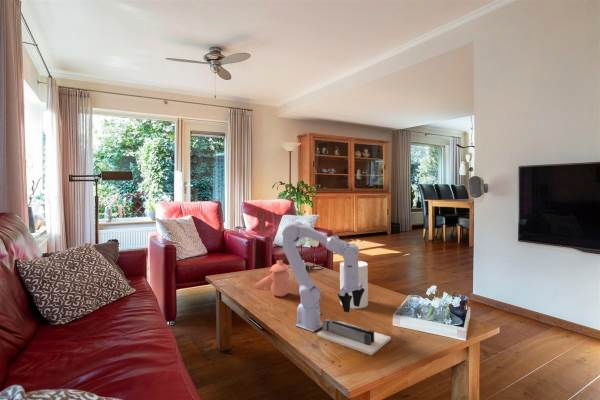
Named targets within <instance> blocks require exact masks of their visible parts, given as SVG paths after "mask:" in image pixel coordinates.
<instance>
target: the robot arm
mask: <svg viewBox="0 0 600 400" xmlns="http://www.w3.org/2000/svg"><path fill="white" fill-rule="evenodd" d="M281 235H282V249H283V252H284V254H285V257H286V258H287V261H288V263H289V265H290V267H291V270H292V273H293V274H294V276H295V280H296V281H297V284H298V287H299V288H298V293H299V296H300V303H299V304H298V306H297V308H296V324H295V326H296V327H298V328H301V329H304V330H306V331H310V332H315V331H317V330H319V329H320V328H323V323H321V315H320V312H321V307H320V302H319V301H320V299H321V297H322V292H321V290H320V289H319V288H318V286H316V284H315V282H314V281H312V280H311V277H310V275H309V273H308V271H307V268H306V266H305V264H304V261H303V259H302V258H301V257H302V256H301V255H300V252H299V251H298V248H297V244H298V243H299V240H300V239H301V238H309V239H312V240H314V241H316V242H319V243H321V244H323V245H324V246H325V247H326V249H327V250H328V251H330V252H332V253H335V254H336V255H339V256H340V257H342V258H343V261H344V286H343V287H342V289H341V290H340V289H339V290H338V293H337V296H338V299H339V301H340V300H341V303H342V305H341V306H342V309H343V312H345V313H350V310H351V308H350V302H351V299H352V297H353V303H354V306H357V307H359V305H360V301H361V297H362V295H363V293H364V288H361V287H363V282H359V272H358V261H359V257H358V256H359V255H360V249H359V247H358V246H357V245H356V244H355V243H350V242H349V241H344V240H343V239H340V237H339V236H338V235H335V236H334V235H331V236H328V235H326V234H324V233H322V232H320V231H318V230H316V229H314V228H312V227H310V226H309V225H307V224H305V223H302V222H299V221H297V222H293V223H290V224H287V225H286V226H285V227H284V229H283V230H282V233H281ZM351 291H352V295H353V296H350V295H349V294H348V293H349V292H351Z"/></svg>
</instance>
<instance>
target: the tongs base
mask: <svg viewBox="0 0 600 400" xmlns="http://www.w3.org/2000/svg"><path fill="white" fill-rule="evenodd" d="M331 321H333V320H331V319H329V318H325V319H324V320H323V321H322V324H323V327H322V330H324V331H329V332H330V333H333V334H336V335H339V336H342V337H345V338H348V339H351V340H354V341H357V342H360V343H363V344H366V345H369V346H370V345H371V335H370V334H367V333H363V332H360V331H357V330H353V329H350V328H347V327H344V326H341V325H337V324H334V323H332V322H331Z"/></svg>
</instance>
